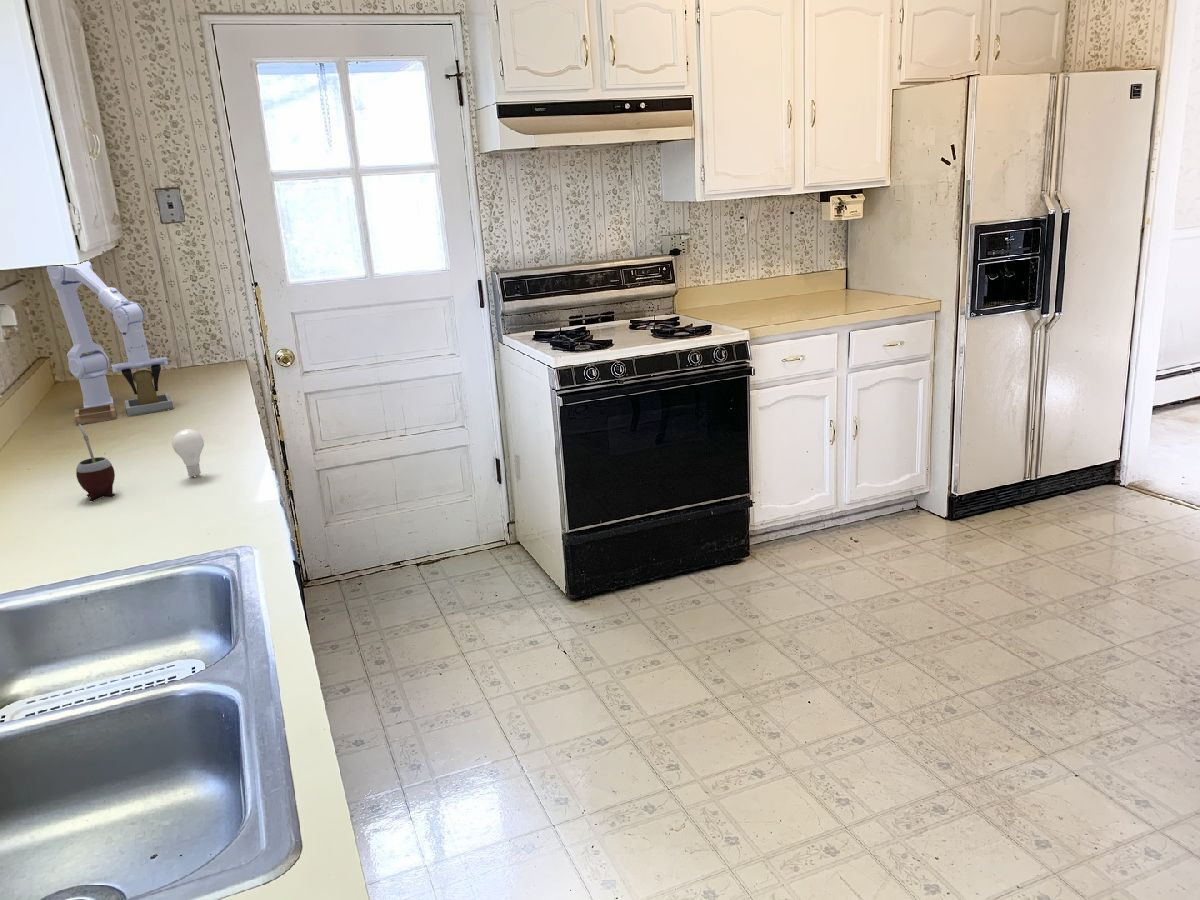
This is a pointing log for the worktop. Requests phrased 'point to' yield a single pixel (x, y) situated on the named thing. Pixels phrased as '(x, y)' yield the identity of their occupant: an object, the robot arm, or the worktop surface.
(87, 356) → the robot arm
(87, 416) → the wooden square frame
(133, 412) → the tray
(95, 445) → the worktop surface
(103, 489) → the mate gourd
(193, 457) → the lightbulb
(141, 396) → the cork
